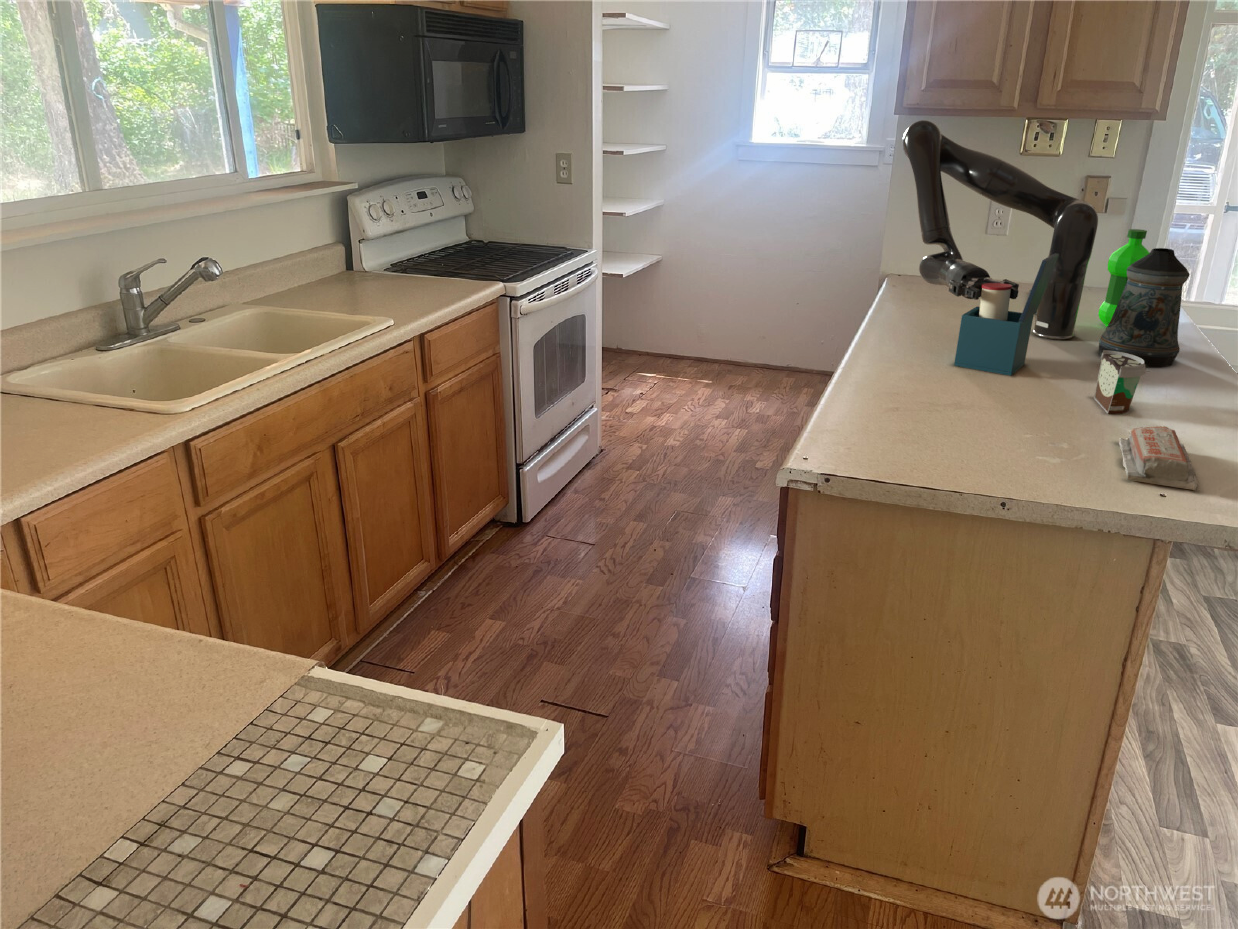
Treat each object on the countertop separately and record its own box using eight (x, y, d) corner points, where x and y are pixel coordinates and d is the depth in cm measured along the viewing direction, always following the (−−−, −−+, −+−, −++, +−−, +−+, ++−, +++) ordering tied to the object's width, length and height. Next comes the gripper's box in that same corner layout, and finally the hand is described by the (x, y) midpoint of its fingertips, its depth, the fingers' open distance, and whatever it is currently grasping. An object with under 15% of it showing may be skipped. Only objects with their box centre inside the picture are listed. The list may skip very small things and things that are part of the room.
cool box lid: (1042, 259, 181) (1046, 261, 181) (1055, 252, 189) (1059, 253, 188) (1019, 320, 188) (1023, 322, 187) (1032, 311, 196) (1036, 312, 195)
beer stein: (1103, 364, 200) (1129, 254, 190) (1088, 342, 217) (1110, 240, 207) (1185, 370, 196) (1215, 258, 186) (1162, 347, 213) (1189, 244, 203)
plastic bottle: (1129, 333, 225) (1152, 234, 215) (1087, 325, 232) (1108, 230, 222) (1144, 326, 231) (1167, 230, 221) (1102, 319, 238) (1123, 226, 228)
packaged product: (1205, 464, 136) (1133, 454, 139) (1197, 492, 138) (1126, 482, 141) (1188, 426, 151) (1123, 418, 154) (1181, 451, 153) (1117, 443, 156)
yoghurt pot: (981, 325, 203) (986, 282, 199) (1009, 328, 199) (1015, 284, 195) (973, 330, 198) (978, 286, 194) (1001, 333, 194) (1007, 288, 191)
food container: (1144, 418, 168) (1157, 369, 164) (1110, 416, 169) (1122, 367, 165) (1124, 398, 179) (1135, 350, 175) (1091, 396, 180) (1102, 349, 176)
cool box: (953, 365, 200) (961, 315, 195) (968, 355, 207) (976, 306, 203) (1010, 375, 193) (1020, 323, 188) (1024, 364, 200) (1033, 314, 195)
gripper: (940, 264, 206) (967, 278, 192) (999, 263, 207) (1031, 277, 192) (935, 295, 209) (962, 311, 195) (993, 294, 210) (1025, 311, 195)
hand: (996, 294), depth 193 cm, fingers open, 8 cm apart
